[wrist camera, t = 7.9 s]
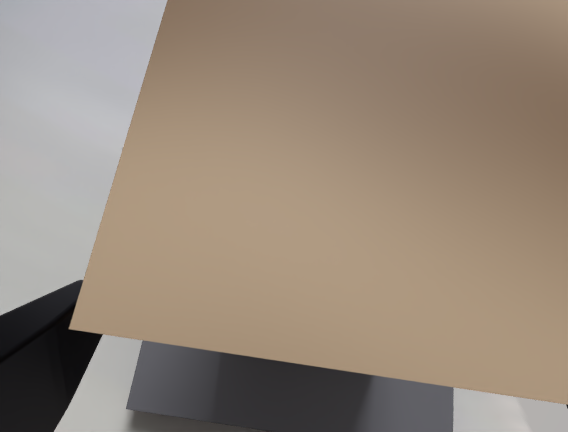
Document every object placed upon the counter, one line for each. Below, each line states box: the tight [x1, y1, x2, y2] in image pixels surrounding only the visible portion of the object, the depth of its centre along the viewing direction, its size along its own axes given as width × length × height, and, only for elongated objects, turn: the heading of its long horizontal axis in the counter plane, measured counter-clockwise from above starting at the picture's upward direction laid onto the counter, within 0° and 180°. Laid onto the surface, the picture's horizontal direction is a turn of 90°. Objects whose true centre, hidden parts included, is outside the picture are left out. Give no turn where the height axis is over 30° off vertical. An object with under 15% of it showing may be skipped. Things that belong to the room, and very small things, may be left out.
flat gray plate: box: [126, 340, 453, 432], centre depth 16 cm, size 12×12×3 cm
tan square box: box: [69, 0, 568, 405], centre depth 10 cm, size 6×6×12 cm
